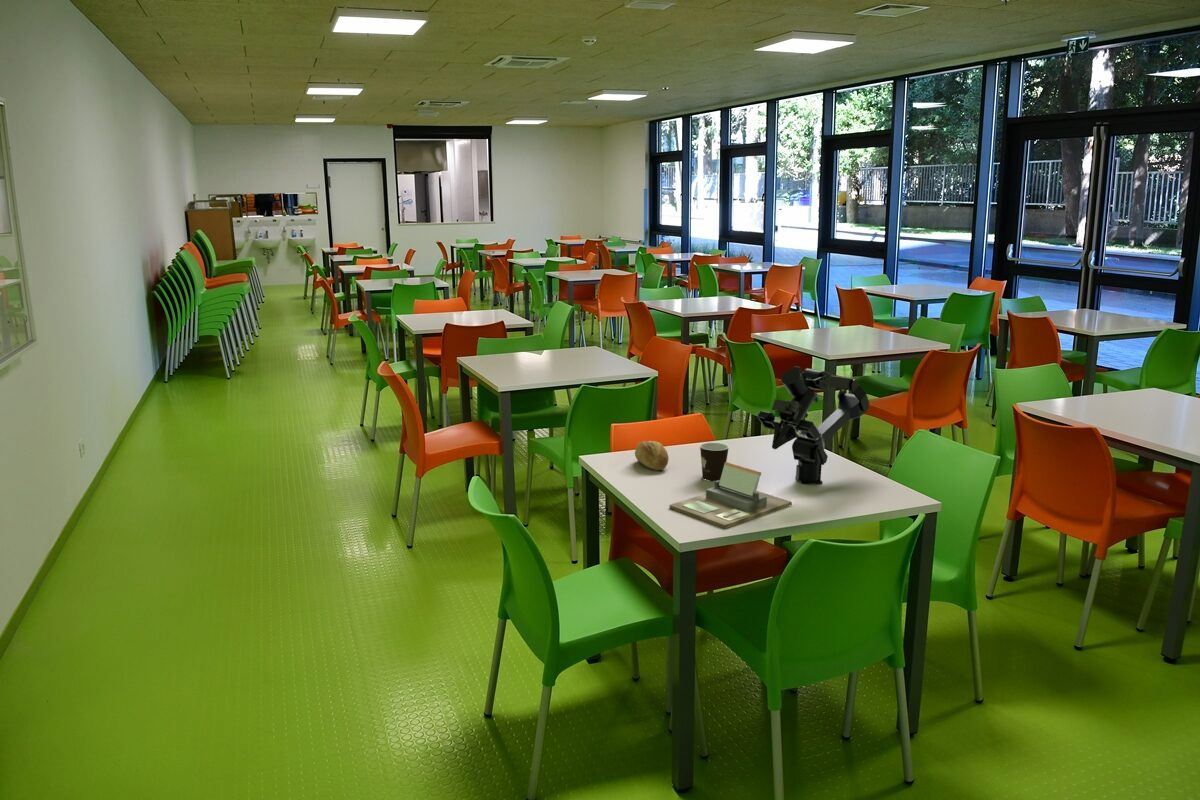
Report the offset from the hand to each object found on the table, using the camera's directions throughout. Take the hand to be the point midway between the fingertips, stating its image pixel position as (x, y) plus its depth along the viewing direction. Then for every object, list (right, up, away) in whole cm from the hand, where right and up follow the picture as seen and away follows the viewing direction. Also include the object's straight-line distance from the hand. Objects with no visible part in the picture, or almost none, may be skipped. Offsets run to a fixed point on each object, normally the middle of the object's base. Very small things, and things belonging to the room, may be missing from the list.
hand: (773, 448), depth 248 cm
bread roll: (-33, -7, +29) cm, 45 cm away
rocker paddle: (-12, -12, -8) cm, 18 cm away
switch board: (-13, -16, -8) cm, 22 cm away
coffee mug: (-15, -10, +18) cm, 26 cm away
